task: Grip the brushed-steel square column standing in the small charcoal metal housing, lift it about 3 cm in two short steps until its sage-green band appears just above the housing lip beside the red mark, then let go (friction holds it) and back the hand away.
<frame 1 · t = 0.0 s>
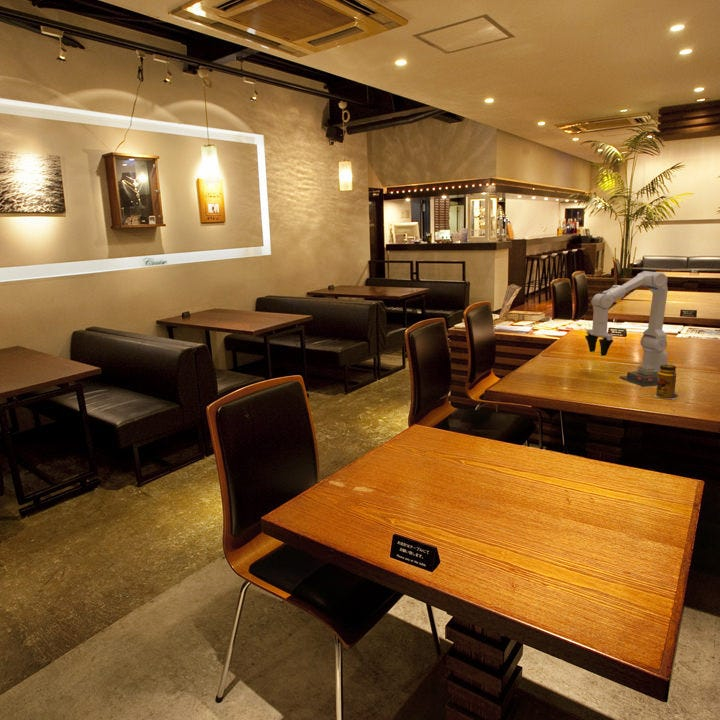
hand: (597, 353, 235), 10 cm above the table, fingers open, 7 cm apart
housing: (645, 380, 228), on the table
column: (645, 380, 228), resting in housing, slide at 0.0 cm
condiment: (665, 396, 209), on the table
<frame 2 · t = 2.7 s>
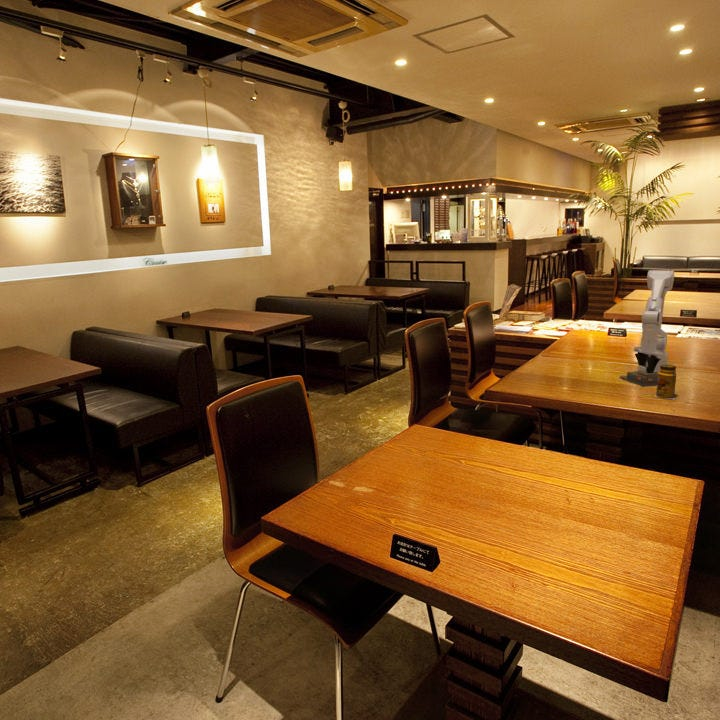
hand: (646, 371, 227), 4 cm above the table, fingers closed on column, 4 cm apart
column: (645, 380, 228), resting in housing, slide at 0.0 cm, touching gripper
everything else where it was.
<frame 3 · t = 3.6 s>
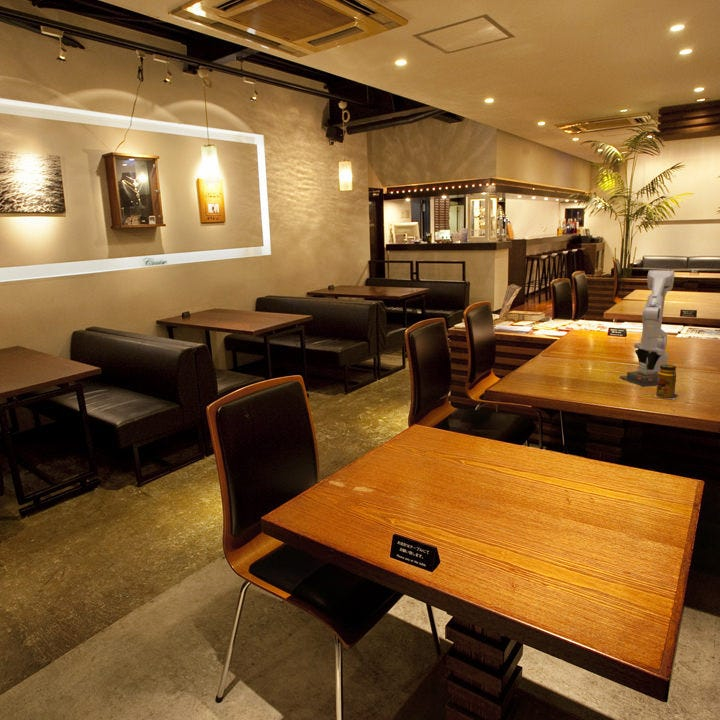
hand: (646, 368, 227), 5 cm above the table, fingers closed on column, 4 cm apart
column: (645, 377, 228), point 1 cm above the table, slide at 1.3 cm, touching gripper
everything else where it was.
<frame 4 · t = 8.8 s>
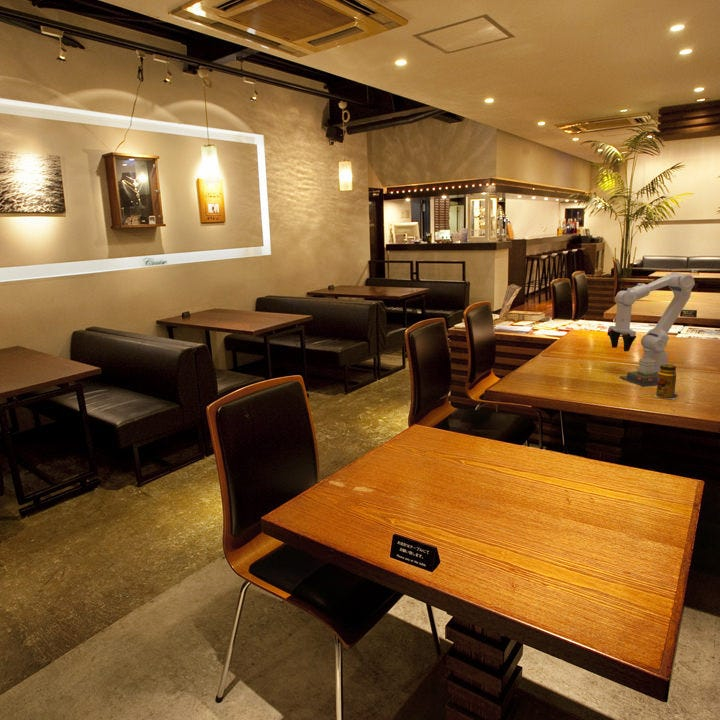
hand: (620, 349, 240), 10 cm above the table, fingers open, 7 cm apart
column: (645, 374, 228), point 3 cm above the table, slide at 2.8 cm
everything else where it was.
at the end: column slide at 2.8 cm; the gripper is holding nothing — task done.
